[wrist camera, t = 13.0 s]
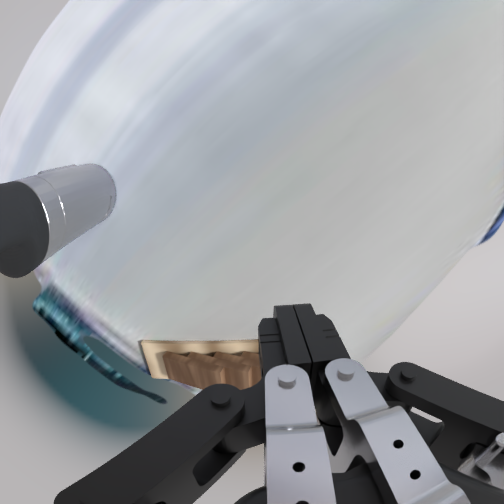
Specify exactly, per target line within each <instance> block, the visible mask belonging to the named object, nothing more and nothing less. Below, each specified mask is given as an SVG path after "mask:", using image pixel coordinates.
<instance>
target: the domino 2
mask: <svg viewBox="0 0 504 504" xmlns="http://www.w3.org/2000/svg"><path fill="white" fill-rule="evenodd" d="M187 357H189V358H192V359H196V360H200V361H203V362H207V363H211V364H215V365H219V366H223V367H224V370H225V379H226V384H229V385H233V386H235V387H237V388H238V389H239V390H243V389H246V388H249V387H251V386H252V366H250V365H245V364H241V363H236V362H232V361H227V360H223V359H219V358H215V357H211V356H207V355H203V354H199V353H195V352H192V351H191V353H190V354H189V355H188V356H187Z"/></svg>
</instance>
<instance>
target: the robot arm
mask: <svg viewBox="0 0 504 504" xmlns="http://www.w3.org/2000/svg"><path fill="white" fill-rule="evenodd" d="M115 201H116V189H115V185H114V181H113V179H112V177H111V176H110V174H109V173H108V172H107V171H106V170H105V169H104V168H103V167H101V166H99V165H95V164H85V165H79V166H77V165H70V166H65V167H60V168H55V169H50V170H46V171H41V172H39V173H38V174H37V175H34V176H30V177H26V178H23V179H19V180H16V181H12V182H8V183H3V184H0V272H1V273H2V274H4V275H6V276H8V277H12V278H19V277H22V276H25V275H27V274H28V273H30V272H31V271H33V270H34V269H35V268H36V267H38V266H39V265H40V264H41V263H43V262H44V261H45V260H47V259H48V258H49V257H51V256H52V255H53V254H55V253H56V252H58V251H59V250H60V249H62V248H63V247H65V246H66V245H67V244H69V243H70V242H72V241H73V240H75V239H76V238H78V237H79V236H81V235H82V234H84V233H85V232H87V231H88V230H90V229H91V228H93V227H94V226H96V225H97V224H99V223H100V222H102V221H104V220H105V219H106V218H107V217H108V216H109V215H110V213H111V212H112V210H113V208H114V205H115ZM258 350H259V363H260V370H261V380H260V381H259V382H258V383H257V384H255V385H253V386H251V387H249V388H246V389H243V390H239V389H238V388H237V387H235V386H233V385H229V384H221V383H220V384H214V385H210V386H208V387H206V388H205V389H203V390H202V391H201V392H200V393H198V394H197V395H196V396H195V397H193V399H191V400H190V401H189V402H187V403H186V404H185V405H184V406H182V407H181V408H180V409H179V410H178V411H176V412H175V413H174V414H172V415H171V416H170V417H168V418H167V419H166V420H165V421H163V422H162V423H161V424H159V425H158V426H157V427H155V428H154V429H153V430H151V431H150V432H149V433H148V434H146V435H145V436H143V437H142V438H141V439H139V440H138V441H137V442H135V443H134V444H132V445H131V446H130V447H128V448H127V449H125V450H124V451H123V452H121V453H120V454H118V455H117V456H116V457H114V458H112V459H111V460H110V461H108V462H107V463H105V464H104V465H102V466H101V467H99V468H98V469H96V470H95V471H93V472H91V473H90V474H88V475H87V476H85V477H84V478H82V479H80V480H79V481H77V482H76V483H74V484H72V485H71V486H69V487H68V488H66V489H64V490H63V491H61V492H60V493H59V494H58V495H57V496H56V498H55V500H54V504H193V503H194V502H195V501H196V500H197V499H198V498H199V497H200V496H201V495H202V494H204V493H205V492H206V491H207V490H208V489H209V488H210V487H211V486H212V485H213V484H214V483H215V482H216V481H217V480H218V479H219V478H220V477H221V476H222V475H223V474H224V473H225V472H226V471H227V470H228V469H229V468H230V467H231V466H232V465H233V464H234V463H235V462H236V461H237V460H238V459H239V458H240V457H241V456H242V455H243V453H244V452H245V451H246V449H248V448H251V447H254V446H257V445H260V444H262V443H264V486H263V487H260V488H258V489H255V490H253V491H251V492H250V493H248V494H246V495H245V496H243V497H242V498H240V499H239V500H238V501H237V502H235V503H234V504H504V401H501V400H499V399H496V398H493V397H491V396H489V395H486V394H483V393H481V392H478V391H476V390H474V389H471V388H469V387H467V386H464V385H462V384H459V383H457V382H454V381H452V380H450V379H448V378H445V377H443V376H441V375H438V374H436V373H434V372H431V371H429V370H427V369H425V368H422V367H420V366H418V365H415V364H413V363H408V362H401V363H397V364H395V365H394V366H393V367H392V368H391V369H390V371H389V373H374V372H368V371H366V370H365V368H364V367H363V366H362V365H361V364H360V363H359V362H357V361H355V360H352V359H351V358H350V356H349V354H348V352H347V350H346V348H345V346H344V344H343V342H342V340H341V338H340V337H339V334H338V332H337V330H336V328H335V326H334V324H333V322H332V321H331V320H330V319H329V318H328V317H326V316H325V315H324V314H319V315H316V314H315V312H314V310H313V308H312V305H311V304H295V305H280V306H274V314H273V318H263V319H262V320H261V322H260V324H259V326H258ZM314 406H315V408H314ZM412 407H415V408H417V409H419V410H421V411H423V412H425V413H427V414H429V415H432V416H434V417H436V418H438V419H440V420H442V422H439V423H435V422H432V421H430V420H428V419H426V418H424V417H422V416H420V415H417V414H415V413H413V412H411V411H410V410H411V408H412ZM315 409H316V413H315Z"/></svg>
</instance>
